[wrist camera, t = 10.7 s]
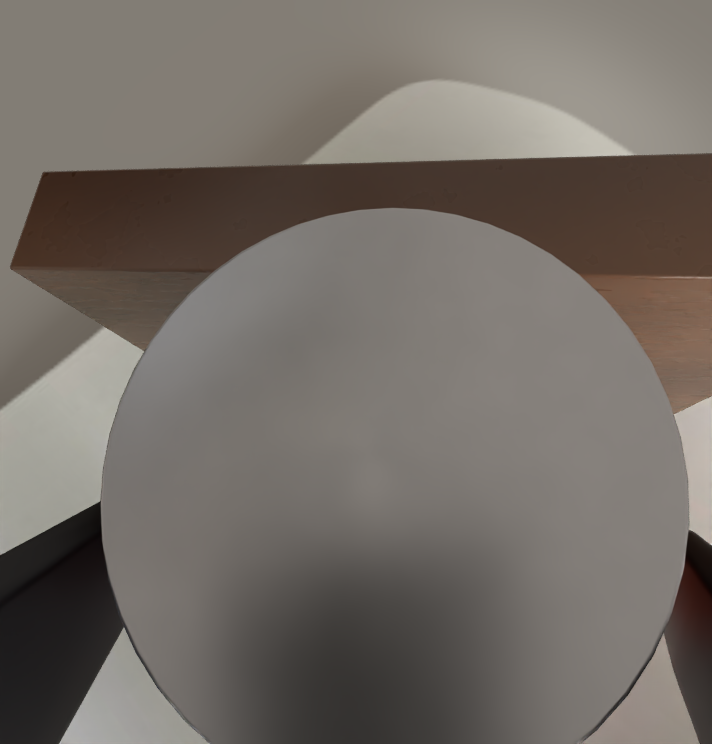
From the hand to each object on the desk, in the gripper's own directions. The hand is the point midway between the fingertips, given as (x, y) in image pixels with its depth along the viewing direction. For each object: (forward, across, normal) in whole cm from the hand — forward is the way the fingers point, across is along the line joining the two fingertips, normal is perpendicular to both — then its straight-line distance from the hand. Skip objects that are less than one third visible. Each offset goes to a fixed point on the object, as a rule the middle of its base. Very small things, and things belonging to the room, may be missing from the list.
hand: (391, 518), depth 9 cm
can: (+6, 0, +5) cm, 8 cm away
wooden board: (+10, 0, +2) cm, 10 cm away
